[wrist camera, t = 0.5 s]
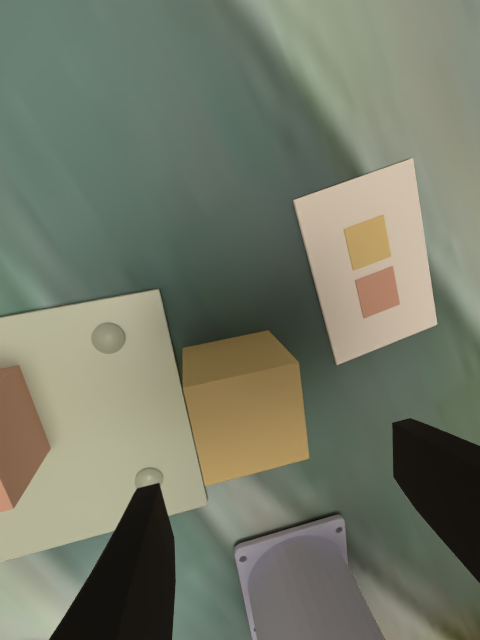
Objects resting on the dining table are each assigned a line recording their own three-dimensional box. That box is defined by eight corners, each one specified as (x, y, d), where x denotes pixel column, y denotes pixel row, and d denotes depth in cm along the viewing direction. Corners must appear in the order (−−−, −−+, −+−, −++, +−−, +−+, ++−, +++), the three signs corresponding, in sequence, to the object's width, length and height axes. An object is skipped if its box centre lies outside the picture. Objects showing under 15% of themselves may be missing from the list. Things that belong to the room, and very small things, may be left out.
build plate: (207, 499, 20) (208, 507, 20) (-66, 574, 18) (-74, 585, 18) (159, 288, 16) (158, 290, 16) (-195, 351, 14) (-211, 356, 14)
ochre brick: (278, 405, 20) (309, 458, 15) (198, 423, 19) (205, 486, 14) (268, 329, 18) (298, 362, 13) (182, 347, 18) (182, 388, 13)
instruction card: (434, 323, 20) (438, 324, 20) (335, 364, 19) (337, 365, 19) (410, 159, 17) (414, 157, 17) (292, 200, 16) (294, 199, 16)
